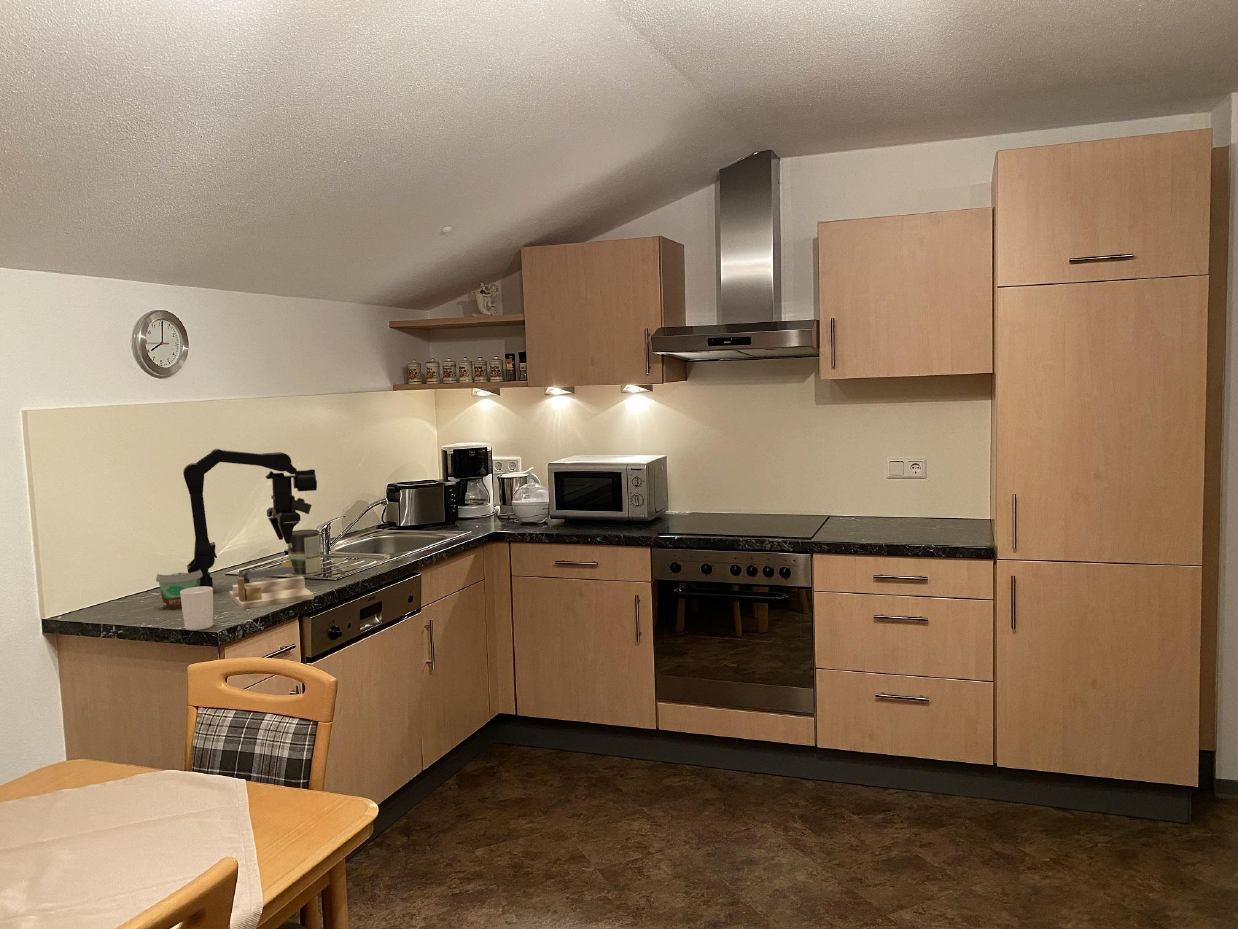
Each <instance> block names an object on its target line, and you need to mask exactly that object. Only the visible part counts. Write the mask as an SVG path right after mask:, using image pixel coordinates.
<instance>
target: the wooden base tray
mask: <svg viewBox="0 0 1238 929" xmlns="http://www.w3.org/2000/svg"><path fill="white" fill-rule="evenodd" d="M231 587H232V590H229V592H228V593H229V594H228V595H229V597H230V599H231V600H233V602H234V603H235V604H237V606H238V607H239V608H240V609H241V610H245V609H252V608H259V607H260V608H261V607H265V606H266V607H267V606H273V605H275V606H276V605H281V604H287V603H294V602H295V601H296V602H302V601H301V600H303V601H308V600H314V599H315V596H314V595H315V594H314V593H313V592H312V591H310V590H309V589H307V587H306V583H305V577H302V576H300V577H293V576H291V577H286V578H279V579H271V580H263V581H256V582H255V581H254V582H250V579H248V580H244V578H242V577H239V576H238V577H237V584H232V586H231Z"/></svg>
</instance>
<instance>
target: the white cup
mask: <svg viewBox="0 0 1238 929" xmlns="http://www.w3.org/2000/svg"><path fill="white" fill-rule="evenodd" d="M180 595H181V604H182V609H181V610H182V618H183V620H184V622H183V623H184V629H185V630H187V631H200V630H207V629H209V628H211V627H213V626H214V587H213V588H212V587H193V588H187V589H184V590H181V591H180Z"/></svg>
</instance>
